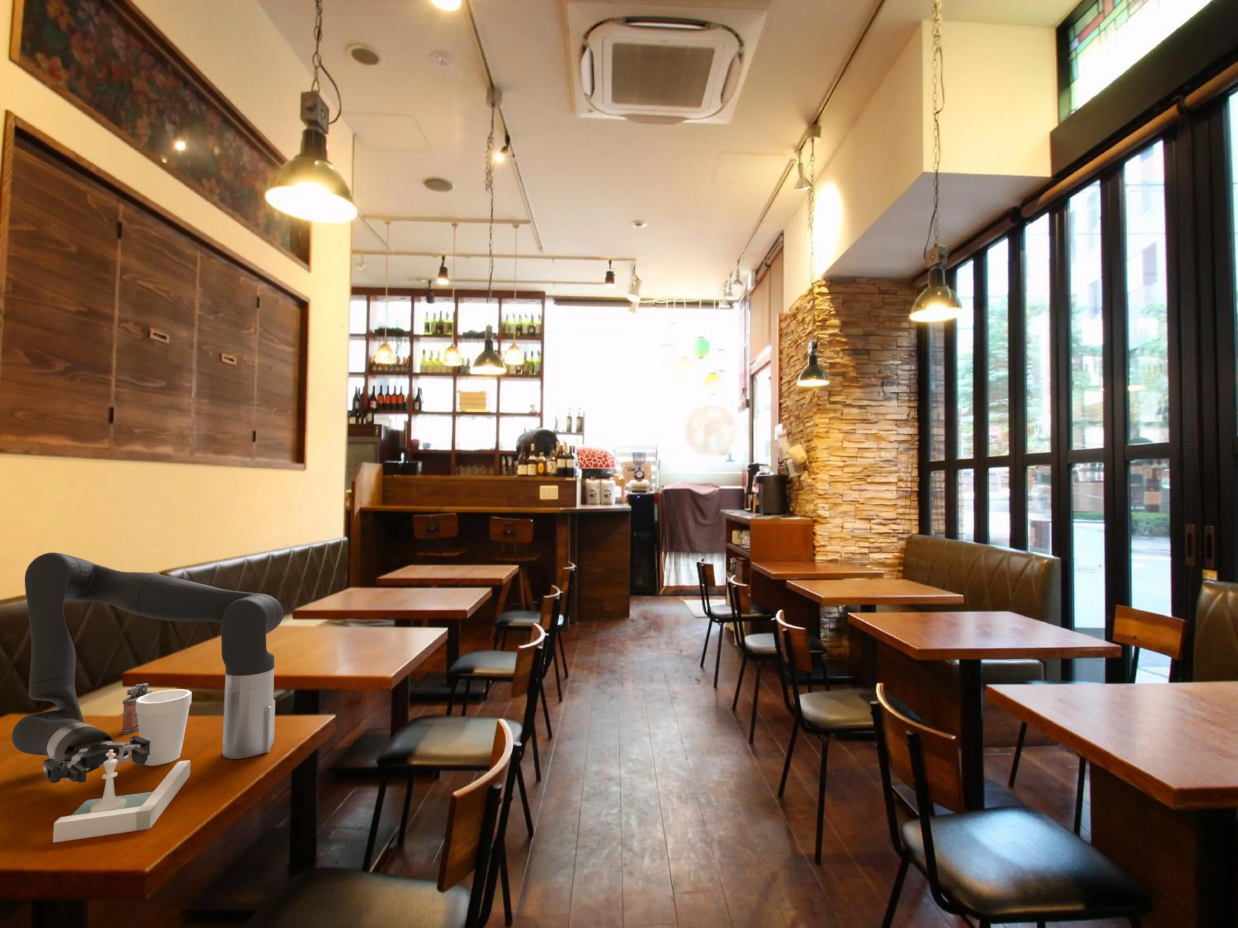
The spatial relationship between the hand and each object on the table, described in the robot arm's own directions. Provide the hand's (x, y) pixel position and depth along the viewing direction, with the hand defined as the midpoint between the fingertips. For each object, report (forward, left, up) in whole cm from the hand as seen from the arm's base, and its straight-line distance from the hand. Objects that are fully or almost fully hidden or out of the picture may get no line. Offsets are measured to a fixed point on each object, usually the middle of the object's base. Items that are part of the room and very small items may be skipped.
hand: (114, 767), depth 109 cm
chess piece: (+1, -2, -8) cm, 8 cm away
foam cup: (0, -24, -8) cm, 26 cm away
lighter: (+12, -47, -8) cm, 50 cm away
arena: (-1, -3, -8) cm, 9 cm away
